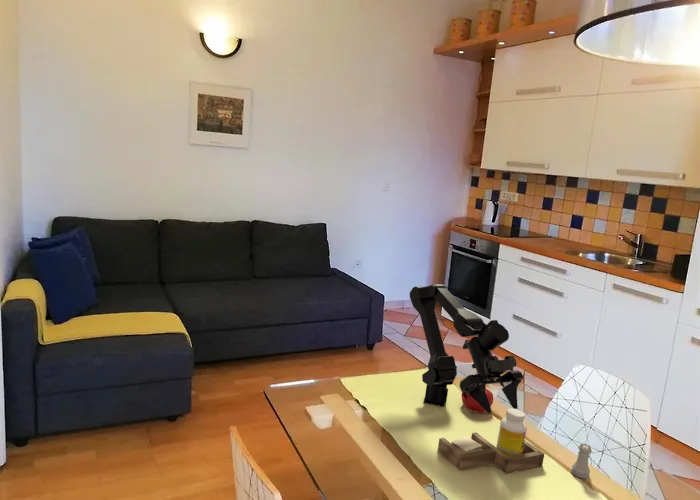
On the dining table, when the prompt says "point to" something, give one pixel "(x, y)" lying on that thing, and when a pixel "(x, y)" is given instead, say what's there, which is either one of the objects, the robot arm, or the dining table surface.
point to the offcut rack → (491, 456)
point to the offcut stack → (467, 445)
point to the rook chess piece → (582, 462)
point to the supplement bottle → (512, 433)
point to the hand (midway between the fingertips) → (503, 411)
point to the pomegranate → (473, 404)
